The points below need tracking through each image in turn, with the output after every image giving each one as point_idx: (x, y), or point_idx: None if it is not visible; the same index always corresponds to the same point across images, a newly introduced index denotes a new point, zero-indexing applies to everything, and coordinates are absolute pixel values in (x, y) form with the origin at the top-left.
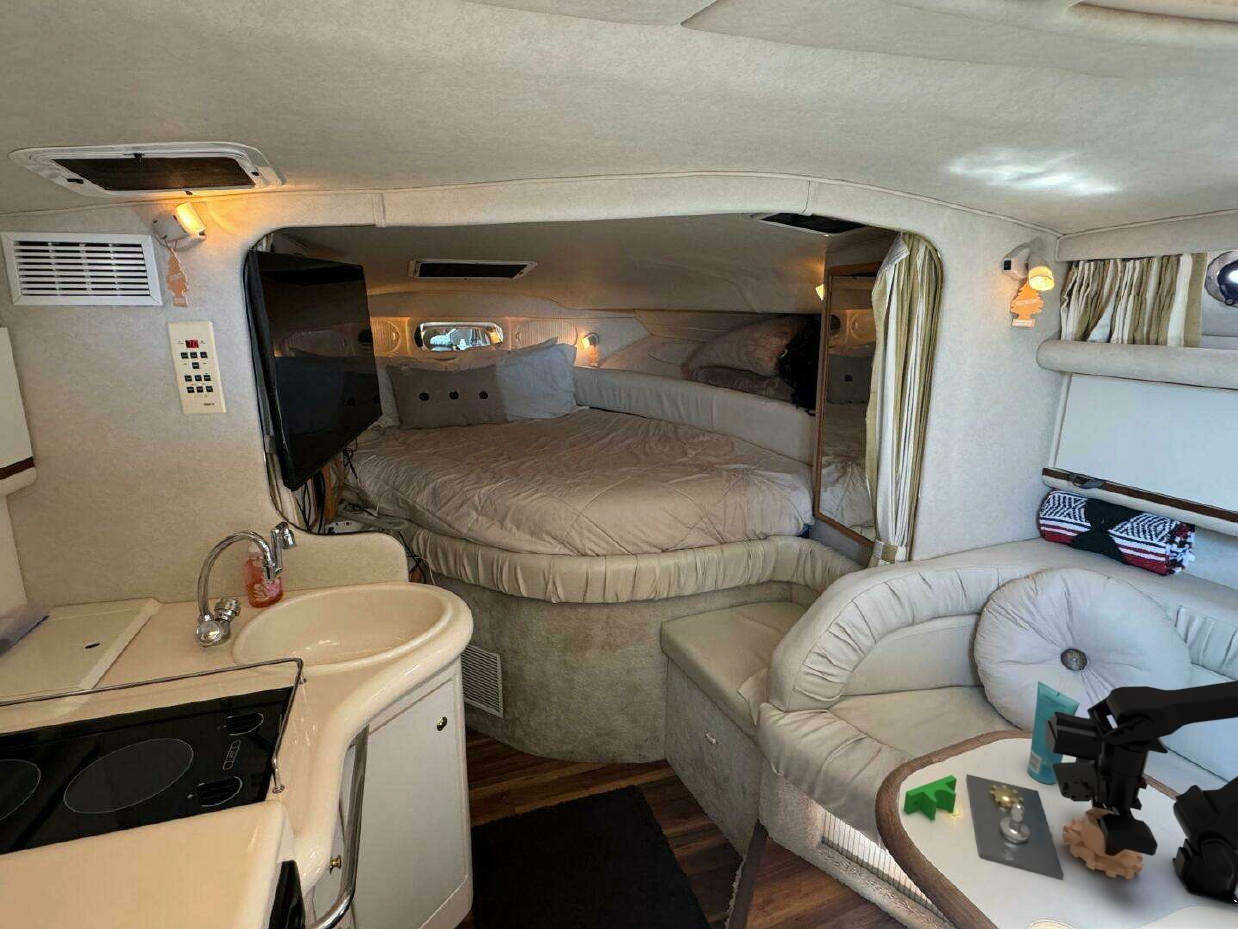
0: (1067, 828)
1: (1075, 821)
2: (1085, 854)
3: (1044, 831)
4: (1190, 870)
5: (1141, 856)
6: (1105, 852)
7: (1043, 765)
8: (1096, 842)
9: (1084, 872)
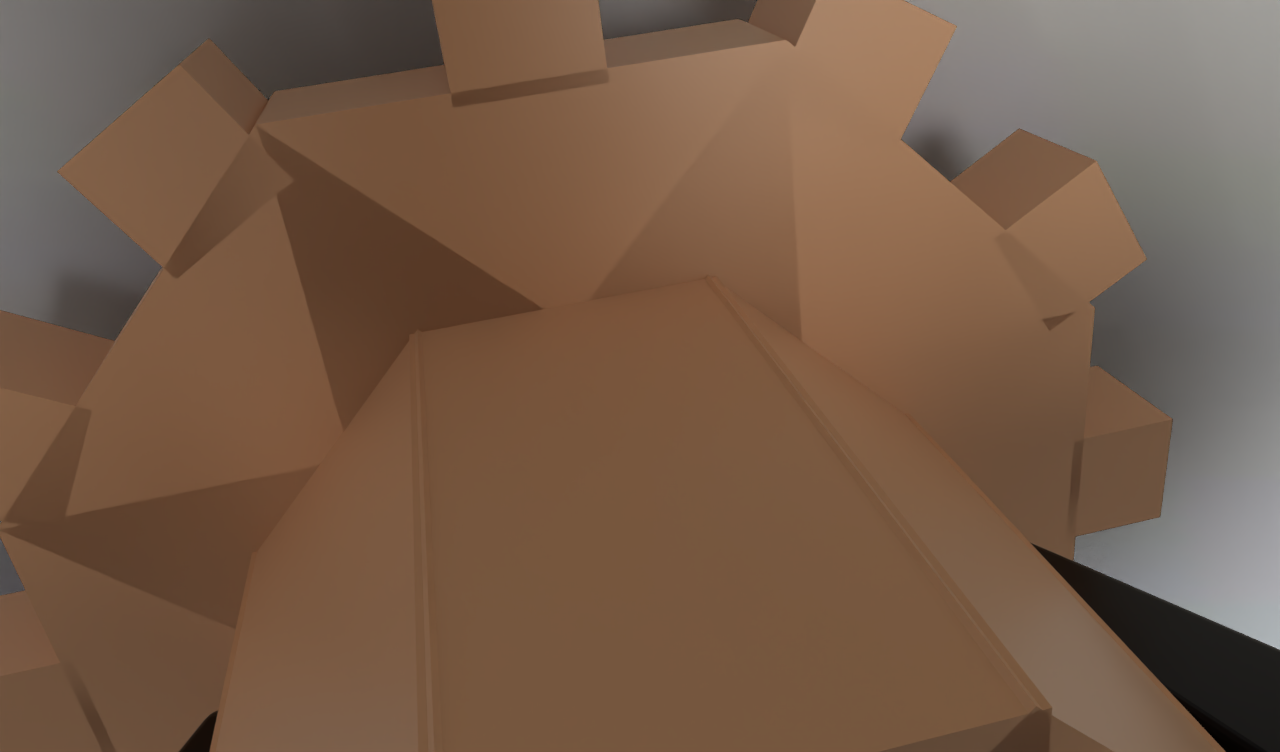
0: (790, 36)
1: (1041, 206)
2: (124, 341)
3: None
4: None
5: None
6: (182, 747)
7: None
8: (274, 660)
9: (23, 253)
